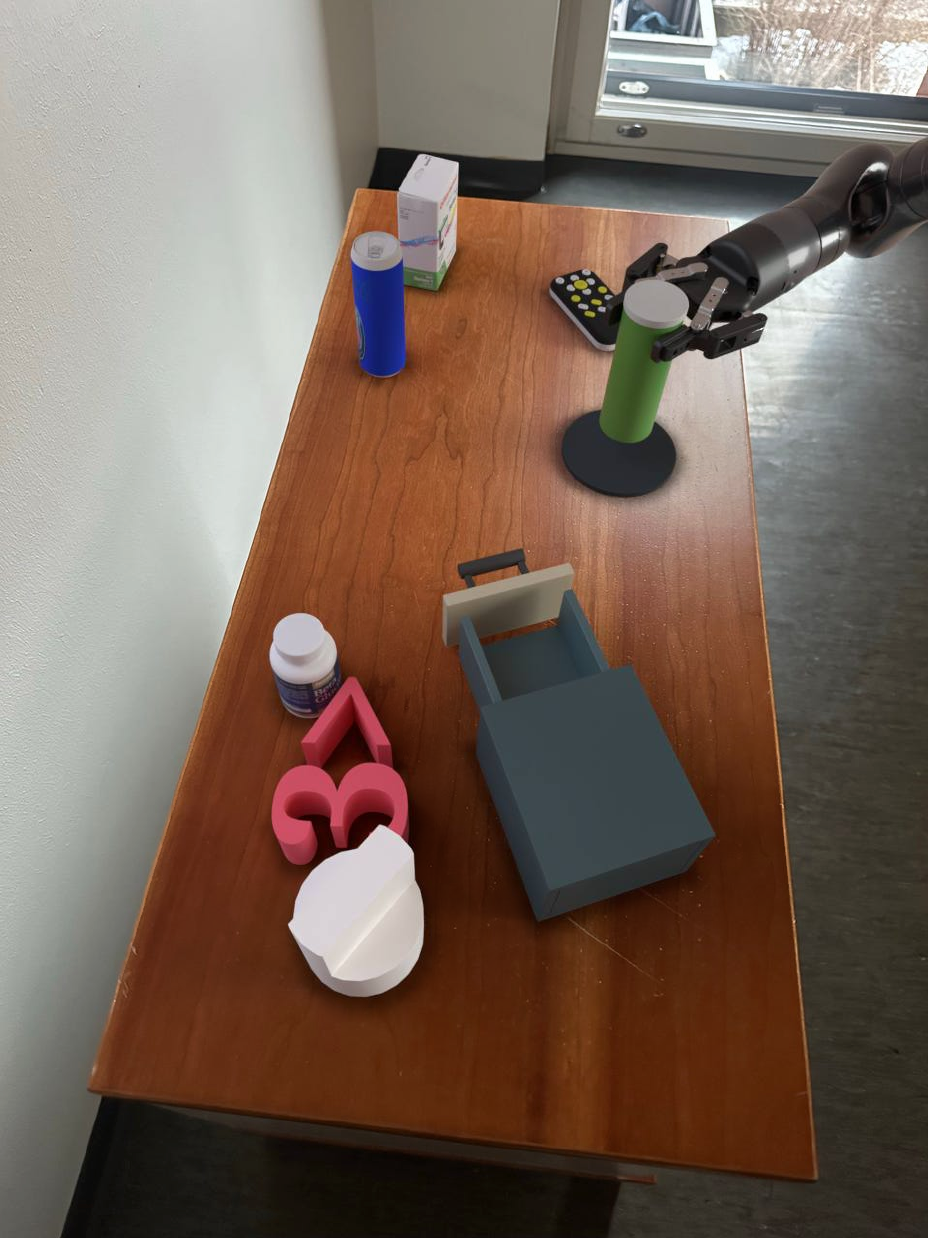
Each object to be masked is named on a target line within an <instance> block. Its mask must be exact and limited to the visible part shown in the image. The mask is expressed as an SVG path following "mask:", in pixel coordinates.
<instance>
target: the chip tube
mask: <svg viewBox="0 0 928 1238" xmlns="http://www.w3.org/2000/svg"><path fill="white" fill-rule="evenodd" d="M623 306H624V307H623V312H622V317H621V321H620V326H619V331H618V335H617V340H616V344H615V349H614V350H613V354H612V359H611V363H610V369H609V372H608V378H607V382H606V386H605V391H604V396H603V401H602V405H601V409H600V410H601V414H600V418H599V423H600V427H601V429H602V431H603V432H604V433H605V434H606V435H607V436H608V437H610V438H611V439H613V440H616V441H619V442H623V443H635V442H639V441H642V440H644V439H645V438H646V437H648V436H649V434H650V433H651V431H652V428H653V425H654V421H655V422H656V417H657V415H658V410H659V408H660V405H661V404H660V403H661V400H662V396H663V393H664V391H665V387H666V383H667V381H668V380H667V379H668V376H669V372H670V370H671V366H672V363H673V360H671V361H668V362H664V361H661V362H659V363H655V362H654V361H653V360H651V359H650V356H651V352H652V348H653V345H654V343H655V341H656V340H657V339H659V338H661V337H662V336H664V335H666V334H668V333H669V332H671V331H673V330H675V329H677V328H678V327H680V326H682V325H683V324H684V322H685V319H686V318H687V316H686V315H687V311H688V308H689V301H688V298H687V296H686V294H685V293H684V292H683V291H682V290H681V289H680V288H678V287H677V286H675V285H673V284H671V283H668V282H665V281H660V280H645V281H640V282H637V283H635V284H633V285H632V286H631V287H630V288H629V289H628V290H627V291H626V293H625V297H624V302H623Z"/></svg>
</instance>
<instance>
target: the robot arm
mask: <svg viewBox="0 0 928 1238" xmlns="http://www.w3.org/2000/svg"><path fill="white" fill-rule="evenodd" d="M926 223H928V136H926V137H924V138H922V139H919V140H917V141H915V142H912V143H910V144H909V145H907V146H906V147H904V148H903V149H901V150H900V151H899V152H898V153H897V154H896V155H895V152H894V151H893V150H892V149H891V148H890V147H889V146H887V145H886V144H883V143H879V142H866V143H862V144H861V143H860V144H859V145H856V146H854V147H852V148H850V149H849V150H847V151H845V152H844V153H842V154H841V155H840V156H839V157H837V158H836V159H835V160H834V161H833V162H831V164H829V166H828V167H827V168H826V169H824V171H823V172H822V174H820V176H818V178H817V179H816V180H815V182H814V183H813V184H812V185H811V187H810V188H809V189H808V190H807V191H805V192H804V194H803V195H801V196H800V197H798V198H796V199H795V200H793V201H791V202H789V203H787V204H785V205H784V206H782V207H780V208H778V209H776V210H774V211H770V212H766V213H764V214H761V215H759V216H757V217H755V218H754V219H751V220H750V221H748V222H746V223H744V224H742V225H740V226H738V227H737V228H734V229H733V230H731V231H729V232H727V233H726V234H723V235H722V236H720V237H718V238H716V239H714V240H712V241H711V242H709V243H708V244H707V245H706V246H705V247H704V248H703V249H702V250H700V252H698V253H697V254H696V255H693V256H685V257H682V258H680V259H679V258H677V257H674V256H672V255H670V254H668V250H669V246H668V244H667V243H665V242H657V243H655V244H654V245H653V246H652V247H651V248H649V249H648V250H647V251H646V252H644V253H643V254H642V255H640V257H638V258H637V259H636V260H635V261H634V262H632V263H631V264H630V265H629V266H627V267H626V269H625V273H624V279H623V283H622V288H621V291H620V292H618V293H617V294H615V296H613V297H611V298H609V300H608V301H607V304H606V309H605V314H604V319H603V321H604V322H605V323H606V324H607V325H608V326H612V325H614V324H616V323H618V322H619V321H621V317H622V312H623V307H624V306H623V302H624V297H625V293H626V291H627V290H628V289H629V288H630V287H631V286H632V285H633V284H635V283H637V282H640V281H645V280H660V281H665V282H668V283H671V284H673V285H675V286H677V287H678V288H680V289H681V290H682V291H683V292H684V293H685V294H686V296H687V298H688V301H689V308H688V311H687V315H686V318H687V319H689V320H690V322H689V326H688V325H686V324H685V323H683V324H682V326H680V327H678V328H677V329H675V330H673V331H671V332H669V333H668V334H666V335H664V336H662V337H661V338H659V339H657V340H656V341H655V343H654V345H653V348H652V352H651V356H650V359H651V360H653V361H654V362H655V363H659V362H661V361H664V362H668V361H671V360H672V361H673V360H675V359H676V358H678V357H680V356H681V355H684V354H685V353H686V352H688V351H689V352H695V351H697V350H698V351H700V352H703V353H702V356H703V357H704V359H707V360H715V359H718V358H721V357H723V356H725V355H728V354H732V353H734V352H737V351H739V350H742V349H745V348H747V347H750V346H753V345H755V344H758V343H759V342H760V341H761V340H760V339H761V338H762V335H763V333H764V330H765V327H766V324H767V322H768V318H769V317H768V316H767V315H766V313H762V312H756V311H758V310H760V309H761V308H763V307H764V306H767V305H768V304H770V303H772V302H773V301H775V300H777V299H778V298H780V297H781V296H783V295H785V294H787V293H789V292H791V290H793V289H795V288H796V287H797V286H798V285H800V284H801V283H802V282H803V281H804V280H806V279H807V278H809V277H810V276H812V275H814V274H816V273H817V272H819V271H820V270H823V269H824V268H826V267H828V266H829V265H831V264H832V263H834V262H836V261H838V259H839V258H841V257H842V256H843V255H844V253H845V254H847V255H848V256H850V257H853V258H855V259H861V260H862V259H863V260H864V259H865V260H866V259H871V258H875V257H877V256H879V255H882V254H884V253H885V252H887V251H889V250H891V249H892V248H893V247H895V246H897V245H899V243H901V242H902V241H903V240H904V239H906V238H907V237H908V236H909V235H910V234H912V233H913V232H915V230H916V229H918V228H919V227H922V225H924V224H926ZM754 312H756V313H754ZM714 324H723V325H720V326H717V327H714V328H712V327H713V326H714Z"/></svg>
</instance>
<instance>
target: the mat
mask: <svg viewBox="0 0 928 1238" xmlns="http://www.w3.org/2000/svg"><path fill="white" fill-rule="evenodd" d="M600 414H601V409H596V410H593V411H589V412H587V413H584V414H583V415H581V416H579V417H577V418H576V419H575V420H573V421H572V423H570V424H569V426H568V427H567V429H566V430H565V431H564V434H563V437H562V440H561V448H560V451H561V458H562V462H563V464H564V466H565V468H566V469H567V470H568V472H569V474H570V475H571V476H572V477H573V478H574V479H575V480H576V481H578V483H579V484H581V485H582V486H584V487H585V488H588V489H590V490H592V491H593V492H596V493H599V494H601V495H603V496H604V495H605V496H610V497H615V498H635V497H641V496H644V495H647V494H650V493H653V492H654V491H656V490H658V489H659V488H661V487H663V485H664V484H666V483H667V481H669V479H670V478H671V477H672V474H673V472H674V470H675V467H676V463H677V451H676V447H675V446H676V445H675V444H674V441H673V438H672V437H671V436H670V435H669V433H668V432H667V431H666V429H664V427H663V426H661V425H660V424H659V422H656V420H655V421H654V425H653V428H652V431H651V433H650V434H649V436H648V437H646V438H645V439H644V440H642V441H639V442H635V443H623V442H619V441H616V440H613V439H611V438H610V437H608V436H607V435H606V434H605V433H604V432H603V431H602V429H601V427H600V423H599V418H600Z"/></svg>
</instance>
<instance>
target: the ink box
mask: <svg viewBox="0 0 928 1238" xmlns="http://www.w3.org/2000/svg"><path fill="white" fill-rule="evenodd" d="M459 164H460V163H459V162H458V161H453V160H449V159H445V158H442V157H436V156H433V155H429V154H425V153H420V154H418V155H417V157H416V159H415V160H414V161H413V163H412V165H411V167H410V169H409V170H408V172H407V174H406V176H405V178H404V179H403V181H402V183H401V185H400V187H398V192H397V195H396V202H397V230H398V241H399V243H400V246H401V249H402V252H403V276H404V286H409V287H414V288H419V289H423V290H427V291H428V290H429V291H434V292H437V291H438V290H439V288H440V286H441V284H442V281H443V280H444V277H445V275H446V273H447V272H448V269H449V267H450V264H451V262H452V260H453V258H454V256H455V253H456V252H457V225H458V224H457V223H458V222H457V221H458V194H459V193H458V191H459V188H458V187H459V167H460V165H459Z"/></svg>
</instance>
